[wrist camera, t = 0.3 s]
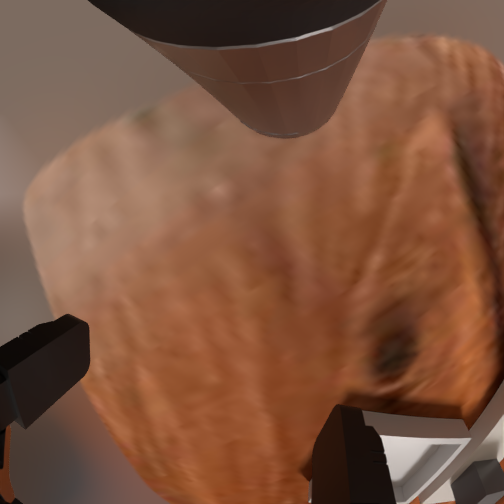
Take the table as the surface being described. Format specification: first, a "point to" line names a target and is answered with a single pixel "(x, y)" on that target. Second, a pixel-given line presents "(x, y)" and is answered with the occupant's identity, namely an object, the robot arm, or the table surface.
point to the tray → (416, 449)
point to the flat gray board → (472, 450)
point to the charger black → (479, 483)
